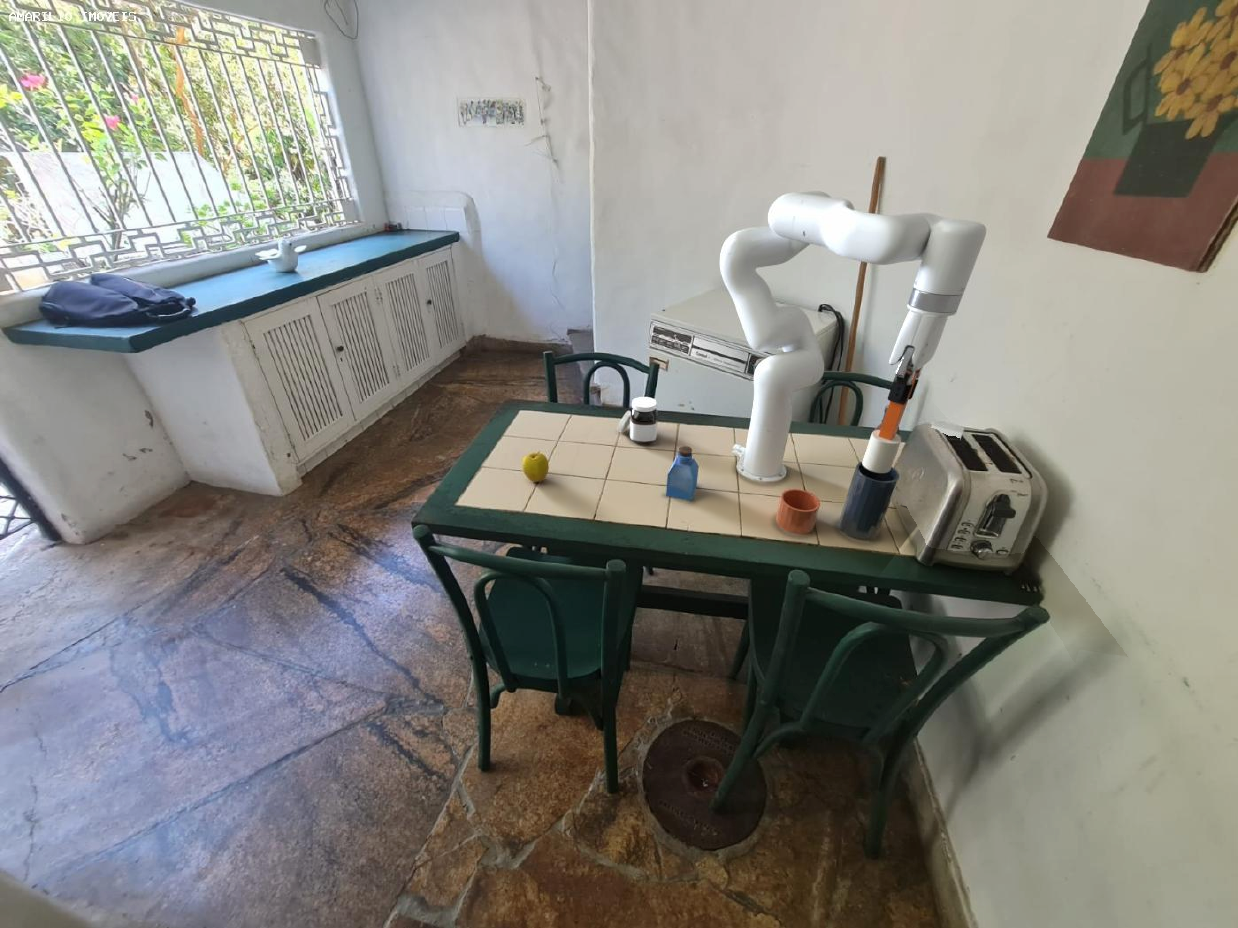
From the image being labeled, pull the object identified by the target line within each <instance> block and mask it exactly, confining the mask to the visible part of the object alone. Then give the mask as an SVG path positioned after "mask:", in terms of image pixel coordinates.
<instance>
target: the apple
mask: <svg viewBox="0 0 1238 928" xmlns="http://www.w3.org/2000/svg"><path fill="white" fill-rule="evenodd" d="M521 466H522V471H523V474H524V475H525V477H526V478H527V479H528V480H530V481H531V482H532V483H540V482H542V481H543V480H545V479H546V478H547V475H548V472H549V469H550V465H549V460H548V458H547V456H546V455H545V454H543V453H541V450H539V451H538V452H531V453H529V454H527V455H524V457H523V459H522V462H521Z"/></svg>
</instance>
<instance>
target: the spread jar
mask: <svg viewBox="0 0 1238 928" xmlns="http://www.w3.org/2000/svg"><path fill="white" fill-rule="evenodd" d="M657 406H658V402H657V400H656V399H655V398H652V397H649V396H638V397H635V398H633V399H632V402H631V409H630V410H627V411H626V412H625V413H624V415H623V416H622V417H621V419H620V421H619V423H618V425H617V429H616V431H617V432H619V433H620V434H623V433H624V432H625V431H626V430H627V429H628V427H629V438H630V441H631V442H632V443H635V444H637V445H644V446H645V445H650V444H653V443H655V442H656V440H657V436H658V435H657V433H658V419H659V418H658V417H659V415H658V408H657Z"/></svg>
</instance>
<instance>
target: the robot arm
mask: <svg viewBox="0 0 1238 928" xmlns="http://www.w3.org/2000/svg"><path fill="white" fill-rule="evenodd" d="M767 222H768V226H755V227H754V226H753V227H747V228H743V229H739V230H738V231H735V232H734V233H732V234H730V235H729V236H728V237H727V238H726V239H725V241H724V243H723V245H722V247H721V250H720V255H719V270H720V275H721V278H722V281H723V283H724V285H725V287H726V289H727V291H728V293H729V295H730V297H731V298H732V301H733V304H734V307H735V310H736V313H737V316H738V318H739V322H740V324H741V327H742V330H743V333H744V336H745V338H746V341H747V343H748V345H749V346H750V348H751V349H752V350H753V351H755V352H759V353H763V352H764V353H765V352H771V351H774V350H778V349H782V351H783V352H780V353H777V354H773V355H769V356H768V357H766V358H764V359H762V360H761V361H760V362H759V363H758V364H757V365H756V367H755V370H754V372H753V389H754V390H753V402H752V411H751V417H750V422H749V428H748V433H747V439H746V445H745V446H743V445H741V444H738V443H735V444H734V445H733V447H732V452H731V454H732V455H733V456H735V457H738V458H739V460H737V463H736V471H737V473H738V474H741V475H742V476H743V477H745V478H747V479H748V480H752V481H755V482H759V483H775V482H779V481H781V480H783V479H785V477H786V475H787V467H786V466H785V465H784V463H783V460H784V456H785V452H786V447H787V443H788V439H789V433H790V429H791V426H792V425H791V424H792V420H793V415H794V407H793V403H792V399H791V396H792V394H793V393H795V392H798V391H800V390H805V389H807V388H810V387H812V386H815V385H816V384H818V383H819V382H820V380H822V378H823V376H824V373H825V363H824V362H825V361H824V357H823V354H822V352H821V348H820V345H819V342H818V340H817V337H816V334H815V331H814V328H813V326H812V323H811V320H810V318H809V317H808V315H807V313H806V312H805V311H804V310H803V309H801V307H798V306H796V305H793V304H787V305H781V306H778V305H777V304H776V301H775V299H774V296H773V294H772V290H771V288H770V286H769V284H768V283H767V282H766V280H765V279H764V278H763V277H762V276H761V275H760V274H759V273H758V272H757V271H756V270H757V269H758V268H766V267H772V266H778V265H782V264H786V263H787V262H788V261H790V260H792V259H793V258H795V257H796V256H797V255H798V254H799V253H801V252H802V251H803V250H805V249H806V248H807V247H809V246H810V245H814V246H817V247H823V248H826V249H829V251H831V252H832V253H834V254H835V255H838V256H840V257H843V258H846V259H848V260H849V259H850V260H854V261H858V262H861V263H867V264H871V265H877V266H888V265H894V264H899V263H905V262H914V261H915V262H916V261H921V262H920V264H919V268H918V271H917V274H916V277H915V281H914V284H913V286H912V289H911V293H910V296H909V298H908V301H907V305H906V307H907V308H908V310H909V311H908V313H907V315H906V317H905V319H904V322H903V324H902V325H901V326H902V327H901V329H900V331H899V334H898V336H897V339H896V341H895V344H894V347H893V350H892V352H891V355H890V357H889V361H888V364H889V365H890V366H894V365H896V364H897V363H899V364H898V367H897V369H896V370H895V374H894V378H893V380H892V384H891V386H890V389H889V393H888V395H887V400H888V402H890V401H892V402H895V403H899V404H902V405H904V404H906V402H907V399H908V397H909V394H910V391H911V388H912V386H913V385H912V384H911V383H912V380H913V377H914V375H915V372H917V373H918V375H917V378H916V380H915V383H914V386H913V389H912V391H911V394H910V397H909V400H912V399H913V397H914V394H915V391H916V389H917V386H918V383H919V378H920V377H921V375H922V371H923V368H924V366H925V365H927V364H928V363H929V362H930V361H931V360H932V359H933V357H934V355H935V354H936V351H937V348H938V346H939V344H940V341H941V338H942V336H943V332H944V330H945V328H946V327H945V326H946V324H947V322H948V318H949V317H952V316H955V315H956V314H957V312H958V309H959V307H960V304H961V301H962V299H963V296H964V293H965V291H966V289H967V285H968V283H969V281H970V278H971V275H972V273H973V270H974V267H975V265H976V262H977V260H978V257H979V254H980V252H981V250H982V246H983V244H984V241H985V239H986V235H987V228H986V226H985V224H983V223H981V222H980V221H979V222H978V221H974V220H967V219H952V218H951V219H950V218H947V217H944V216H940V215H937V214H934V213H930V212H913V213H912V212H911V213H909V212H908V213H900V214H892V215H889V214H879V213H871V212H865V211H861V210H856V208H855V205H854V204H853V203H852V201H850V200H849V199H846V198H838V197H832V196H831V195H830V194H828V193H826V192H824V191H821V190H810V191H809V190H808V191H793V192H787V193H785V194H783V195H780V196H779V197H778V198H777V199H776V200H774V202H772V204H771V206H770V208H769V210H768V214H767ZM906 371H909V372H910V375H909V373H907V372H906ZM909 400H908V401H909ZM907 403H908V402H907Z"/></svg>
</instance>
